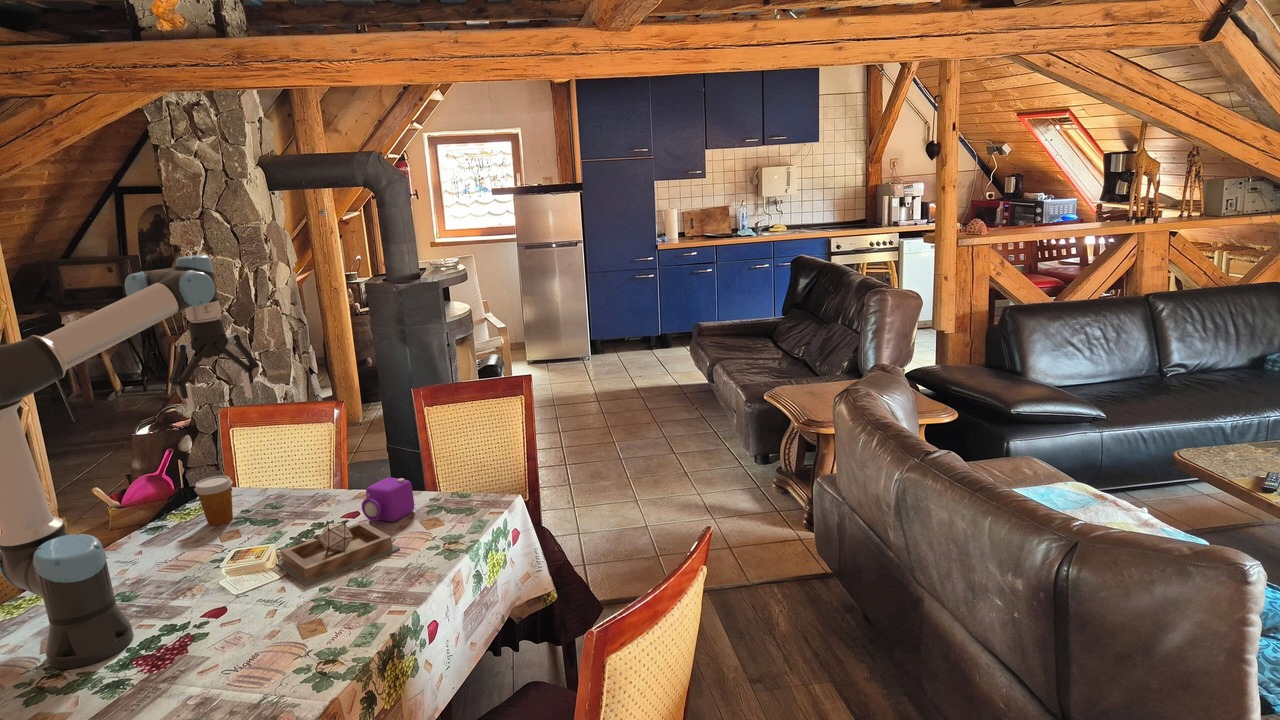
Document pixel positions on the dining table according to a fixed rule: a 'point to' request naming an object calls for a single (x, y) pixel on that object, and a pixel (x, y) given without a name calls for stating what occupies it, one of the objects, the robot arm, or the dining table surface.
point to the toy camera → (388, 500)
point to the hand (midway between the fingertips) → (220, 403)
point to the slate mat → (307, 583)
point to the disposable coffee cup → (216, 499)
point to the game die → (336, 537)
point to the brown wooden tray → (316, 563)
